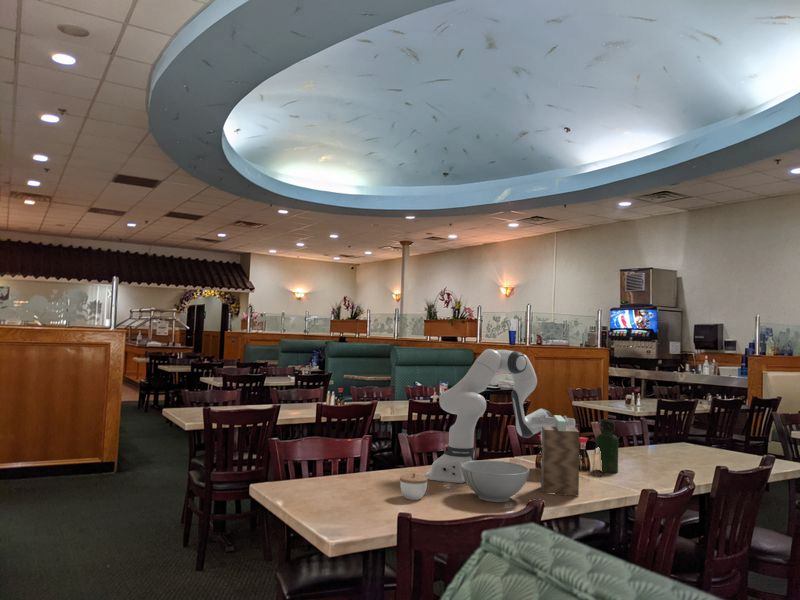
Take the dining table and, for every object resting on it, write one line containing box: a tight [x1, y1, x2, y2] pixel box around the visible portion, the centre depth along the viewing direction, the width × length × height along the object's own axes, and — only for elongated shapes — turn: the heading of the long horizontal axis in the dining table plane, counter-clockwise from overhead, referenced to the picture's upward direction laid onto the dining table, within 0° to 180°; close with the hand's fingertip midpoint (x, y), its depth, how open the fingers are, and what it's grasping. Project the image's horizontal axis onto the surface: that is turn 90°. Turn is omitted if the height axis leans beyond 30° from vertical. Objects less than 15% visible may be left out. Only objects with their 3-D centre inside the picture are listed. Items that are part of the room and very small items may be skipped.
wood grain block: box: [540, 426, 580, 496], centre depth 256 cm, size 14×12×26 cm
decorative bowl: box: [461, 460, 530, 503], centre depth 241 cm, size 27×27×12 cm
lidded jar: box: [399, 472, 429, 501], centre depth 237 cm, size 11×11×9 cm
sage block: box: [553, 414, 566, 431], centre depth 261 cm, size 3×21×4 cm, turn 171°
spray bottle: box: [595, 418, 619, 474], centre depth 302 cm, size 10×10×25 cm
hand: (554, 416), depth 283 cm, fingers open, 8 cm apart
